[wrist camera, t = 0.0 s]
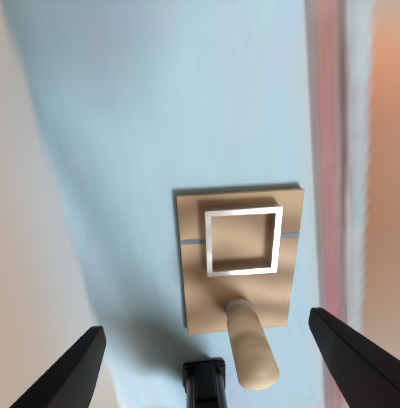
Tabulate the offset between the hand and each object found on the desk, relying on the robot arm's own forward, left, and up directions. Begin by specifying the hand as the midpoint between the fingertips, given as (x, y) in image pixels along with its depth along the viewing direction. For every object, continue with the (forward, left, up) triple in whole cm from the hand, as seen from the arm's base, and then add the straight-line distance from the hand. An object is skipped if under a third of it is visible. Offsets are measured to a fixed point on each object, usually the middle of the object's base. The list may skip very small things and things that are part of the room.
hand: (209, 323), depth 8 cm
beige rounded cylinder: (-14, -5, -14) cm, 21 cm away
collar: (-4, -5, -15) cm, 16 cm away
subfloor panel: (-8, -5, -15) cm, 18 cm away
